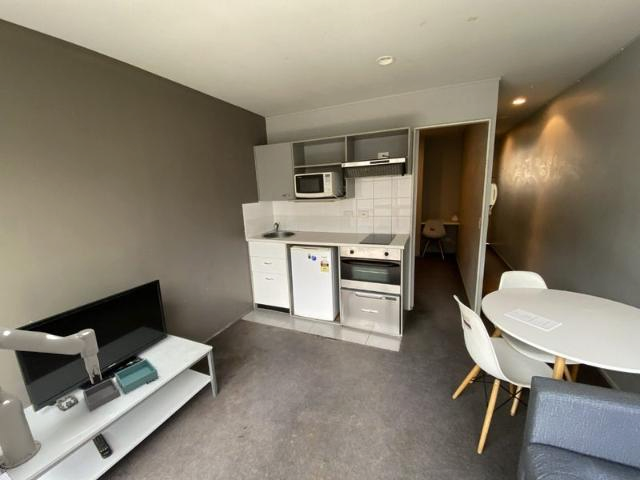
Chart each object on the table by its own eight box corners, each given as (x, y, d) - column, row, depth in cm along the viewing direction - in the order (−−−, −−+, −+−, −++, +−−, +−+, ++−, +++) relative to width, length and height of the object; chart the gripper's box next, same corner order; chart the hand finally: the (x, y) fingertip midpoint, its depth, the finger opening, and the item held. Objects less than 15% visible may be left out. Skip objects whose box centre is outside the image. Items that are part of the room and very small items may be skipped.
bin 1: (90, 413, 149) (88, 405, 148) (84, 398, 159) (82, 391, 158) (121, 396, 159) (119, 389, 158) (113, 384, 169) (111, 377, 168)
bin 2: (125, 395, 160) (123, 386, 159) (116, 382, 171) (114, 373, 170) (158, 377, 173) (156, 369, 172) (148, 366, 185) (146, 358, 183)
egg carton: (56, 406, 155) (54, 400, 154) (73, 397, 161) (71, 391, 160) (63, 414, 149) (61, 407, 148) (80, 404, 155) (78, 398, 155)
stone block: (92, 383, 153) (90, 374, 151) (90, 380, 155) (88, 371, 154) (102, 379, 156) (100, 370, 155) (100, 376, 159) (98, 367, 157)
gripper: (77, 349, 154) (84, 377, 158) (84, 360, 144) (91, 390, 147) (94, 342, 160) (100, 370, 164) (101, 353, 149) (108, 382, 153)
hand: (96, 379), depth 155 cm, fingers closed on stone block, 4 cm apart
